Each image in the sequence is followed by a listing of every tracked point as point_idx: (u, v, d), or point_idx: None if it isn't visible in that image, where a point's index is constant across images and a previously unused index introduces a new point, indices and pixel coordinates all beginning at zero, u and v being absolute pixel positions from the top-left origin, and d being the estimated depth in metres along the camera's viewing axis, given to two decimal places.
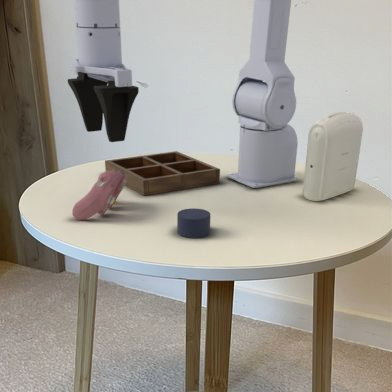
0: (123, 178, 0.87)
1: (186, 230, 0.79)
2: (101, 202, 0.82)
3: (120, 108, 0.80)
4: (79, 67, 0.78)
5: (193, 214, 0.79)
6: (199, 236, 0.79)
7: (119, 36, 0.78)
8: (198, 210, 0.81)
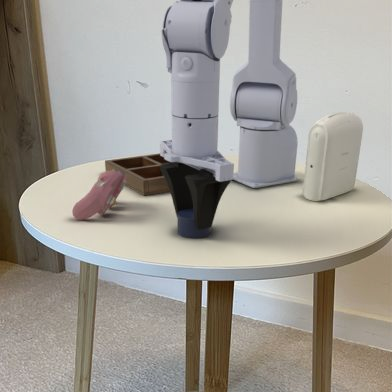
0: (123, 178, 0.87)
1: (186, 230, 0.79)
2: (101, 202, 0.82)
3: (210, 196, 0.76)
4: (175, 157, 0.73)
5: (193, 214, 0.79)
6: (199, 236, 0.79)
7: (217, 124, 0.73)
8: None
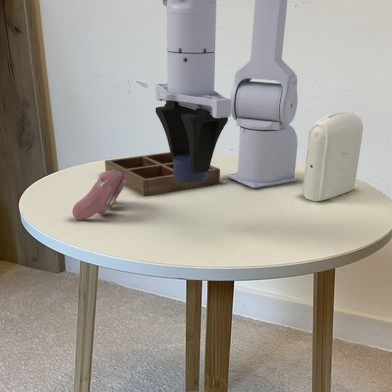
0: (123, 178, 0.87)
1: (182, 174, 0.77)
2: (101, 202, 0.82)
3: (207, 137, 0.74)
4: (170, 95, 0.71)
5: None
6: (196, 181, 0.77)
7: (214, 61, 0.71)
8: None
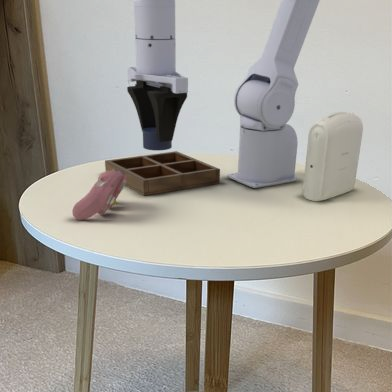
0: (123, 178, 0.87)
1: (150, 143, 0.91)
2: (101, 202, 0.82)
3: (170, 111, 0.88)
4: (138, 75, 0.85)
5: (156, 130, 0.91)
6: (161, 149, 0.91)
7: (174, 47, 0.85)
8: None
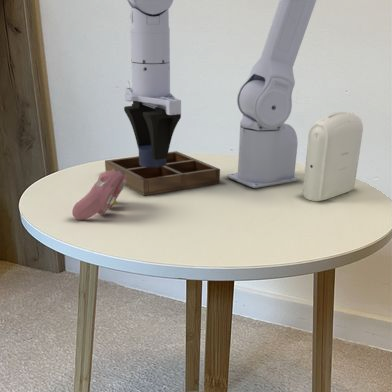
0: (123, 178, 0.87)
1: (145, 160, 0.95)
2: (101, 202, 0.82)
3: (164, 130, 0.92)
4: (134, 97, 0.89)
5: None
6: (156, 166, 0.95)
7: (169, 70, 0.89)
8: None
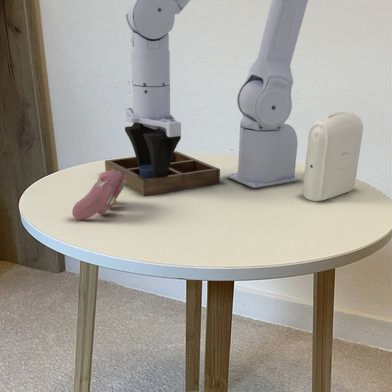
0: (123, 178, 0.87)
1: None
2: (101, 202, 0.82)
3: (164, 151, 0.94)
4: (135, 119, 0.91)
5: None
6: None
7: (169, 92, 0.91)
8: None
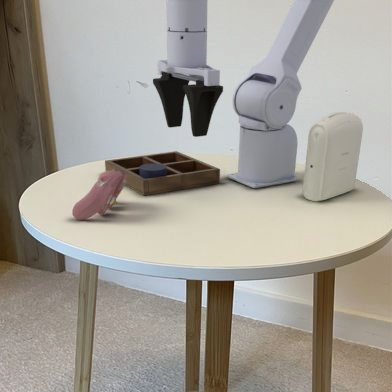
0: (123, 178, 0.87)
1: None
2: (101, 202, 0.82)
3: (205, 105, 0.87)
4: (169, 68, 0.85)
5: (152, 167, 0.97)
6: None
7: (206, 39, 0.85)
8: (157, 164, 0.98)
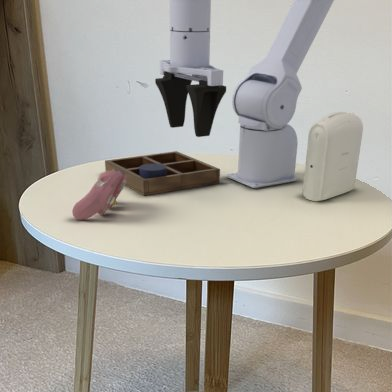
0: (123, 178, 0.87)
1: None
2: (101, 202, 0.82)
3: (208, 105, 0.87)
4: (172, 68, 0.85)
5: (152, 167, 0.97)
6: None
7: (209, 39, 0.85)
8: (157, 164, 0.98)
